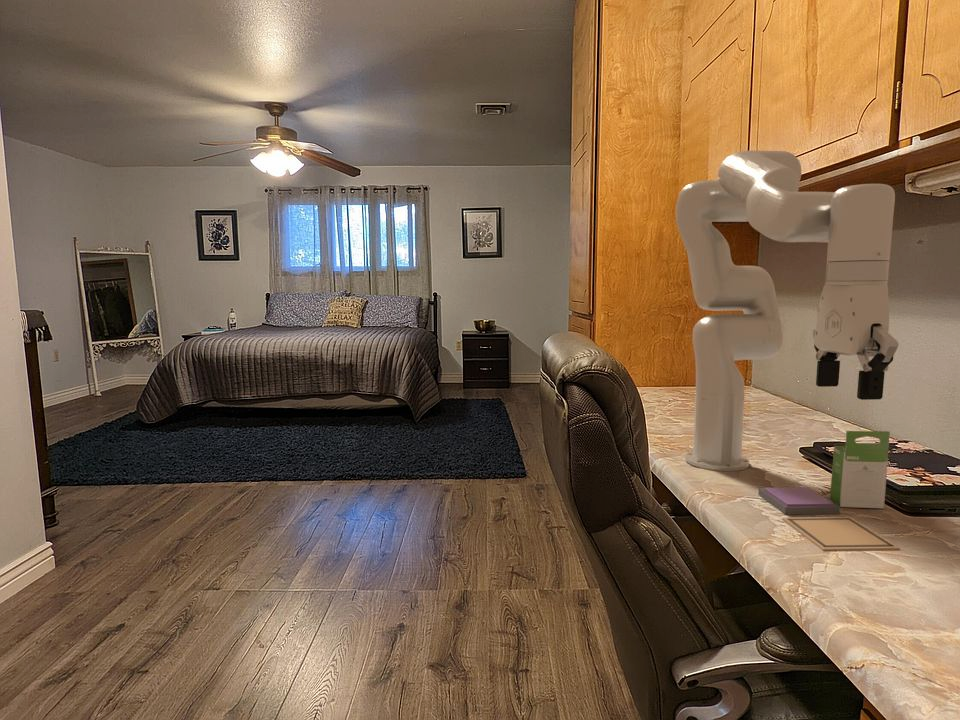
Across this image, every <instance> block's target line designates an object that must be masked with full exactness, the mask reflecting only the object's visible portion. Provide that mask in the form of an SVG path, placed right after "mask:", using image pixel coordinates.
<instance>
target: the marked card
mask: <svg viewBox="0 0 960 720" xmlns="http://www.w3.org/2000/svg"><path fill="white" fill-rule="evenodd" d="M781 520H782V521H783V522H785V523H786V524H787V525H788V526H790V527H791V528H792V529H793V530H795V531H797V533H799V534H801V535H802V536H803V537H804V538H806V540H808V541H810V543H812V544H813V545H815V546H816V547H817V548H818V549H820V550H821V551H822V552H823V551H824V552H827V551H828V552H830V551H833V552H836V551H837V552H838V551H839V552H840V551H841V552H842V551H896V550H898V551H901V547H899V546H898V545H897V544H894V543H893V542H891V541H890V540H888V539H886V538H885V537H884V536H882V535H880V534H879V533H877V532H875V531H874V530H873V529H871V528H869V527H868V526H866V525H865V524H863V523H861V522H859V521H858V520H856V519H855V518H853V517H851V516H821V517H820V516H819V517H818V516H817V517H815V516H814V517H813V516H812V517H808V516H807V517H782V519H781Z"/></svg>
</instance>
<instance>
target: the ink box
mask: <svg viewBox="0 0 960 720" xmlns="http://www.w3.org/2000/svg"><path fill="white" fill-rule="evenodd" d="M890 434H891V433H890V431H884V430H883V431H878V430H876V431H875V430H872V431H871V430H869V431H868V430H866V431H865V430H846V431H845V445H834V446H833V459H832V466H831V467H832V469H831V479H830V480H831V481H830V494H829V498H830V501H831V502H833V503H835V504H836V505H838V506H839V507H840V508H859V509H861V508H862V509H885V503H886V502H885V499H886V498H885V497H886V488H887V487H886V486H887V472H888V460H889V447H890ZM864 437H869V438H874V439H878V440H879V441H878V442H856V440H857V439H859V438H864Z"/></svg>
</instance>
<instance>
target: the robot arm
mask: <svg viewBox="0 0 960 720" xmlns="http://www.w3.org/2000/svg"><path fill="white" fill-rule="evenodd" d="M801 177H802V164H801V162H800V160H799V159H798V158H797V156H796V155H795V154H794V153H791V152H789V151H784V150H742V151H741V150H740V151H737V152H734V153H732V154H731V155H729V156H727V157H726V158H725V159H723V160H722V163H721V164H720V165H719V168H718V173H717V179H715V180H713V179H711V180H707V179H706V180H699V181H694V182H691V183H688V184H686V185H685V186H684V187H683V188H681V190H680V192H679V193H678V196H677V198H676V199H677V200H676V203H675V222H676V226H677V229H678V230H677V231H678V233H679V235H680V238H681V241H682V243H683V245H684V247H685V251H686V256H687V259H688V267H689V274H690V279H691V287H692V293H693V297H694V301H695V303H696V305H697V307H699V309H701V310H703V311H711V312H712V311H713V312H714V311H715V312H720V311H721V312H722V311H723V312H724V311H725V312H729V311H730V312H732V311H742V312H743V314H742V313H741V314H739V313H730V314H729V313H728V314H727V313H726V314H711V315H707V316H704V317H702V318H700V319H699V320H698V321H697V322H696V323H695V325H694V326H693V329H692V346H693V350H694V352H693V353H694V361H695V392H694V393H695V395H694V396H695V397H694V399H695V400H694V423H693V427H694V428H693V445H692V446H693V447H692V448H693V449H692V450H690V451H688V452H686V453H685V456H684V457H685V459H684V460H685V462H686V463H688V464H689V465H691V466H693V467H696V468H700V469H704V470H708V471H718V472H736V471H737V472H738V471H742V470H746V469H748V468H749V467H750V460H749V458H747V456H745V455H743V454H742V449H743V430H744V429H743V428H744V427H743V426H744V411H745V407H744V406H745V386H746V384H745V380H744V379H745V378H744V376H743V375H742V373H741V371H740V370H739V368H738V366H737V365H736V363H735V361H747V360H748V361H749V360H754V361H755V360H767V359H771V358H773V357H775V356H776V355H778V353H779V352H780V350H781V348H782V346H783V339H784V338H783V337H784V336H783V333H784V332H783V327H782V322H781V315H780V310H779V305H778V299H777V294H776V289H775V288H776V287H775V284H774V281H773V278H772V277H771V275H770V274H769V272H768V271H767V270H766V269H765V268H764V267H760V266H757V265H737V264H734V262H733V260H732V256H731V255H732V254H731V248H730V245H729V242H728V240H727V239H726V238H725V237H724V235H723V234H722V233H721V231H720V230H719V229H717V228H716V227H715V226H714V225H713V222H717V223H723V222H724V223H729V222H733V223H735V222H736V223H741V222H742V223H743V222H744V223H747V222H748V224H749V225H750V226H751V227H752V228H753V229H754V230H756V231H757V232H758V233H760V234H761V235H762V236H764V237H766V238H768V239H771V240H772V241H775V242H780V243H827V253H826V255H827V257H826V268H825V269H826V270H825V283H824V284H823V288H822V290H821V295H820V299H819V302H818V303H819V304H818V309H817V314H816V315H817V316H816V320H815V321H816V322H815V329H814V330H813V331H812V336H813V340H814V343H813V344H814V345H813V347H814V350H815V351H816V354H815V359H816V362H817V363H816V364H817V365H816V375H815V376H816V378H815V385H816V386H817V387H818V388H819V387H826V388H827V387H838V386H839V382H840V381H839V380H840V371H841V370H840V368H841V360H838V358H839V357H840V355H843V356H848V357H849V356H857V359H858V361H859V363H860V365H861V368H862V370H858V379H857V390H856V391H857V392H856V398H857V399H859V400H862V401H863V400H864V401H866V400H869V401H871V400H875V401H876V400H882V398H883V395H884V383H885V372H887V371H889V366H890V364H891V363H892V362H893V361H894V356H895V353H896V351H897V350H898V347H899V346H900V345H899V341H898V340H897V339H896V338H894V336H892V334H890V333H889V328H890V302H889V287H888V283H889V271H890V270H889V269H890V258H891V247H892V238H893V237H892V236H893V224H894V213H895V202H896V194H895V189H894V188H893V187H892V186H891V185H889V184H884V183H862V184H860V183H859V184H854V185H853V184H852V185H849V186H848V185H847V186H843V187H840V188H838V189H837V190H836V191H834V192H833V191H799V189H800V181H801ZM871 357H872V358H871ZM870 358H871V359H870Z"/></svg>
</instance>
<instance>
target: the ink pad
mask: <svg viewBox="0 0 960 720" xmlns="http://www.w3.org/2000/svg"><path fill="white" fill-rule="evenodd" d="M757 494H758V496H760V497H761V498H762V499H764V500H765V501H766V502H768V503H769V504H771V506H773V507H774V508H776V509H777V510H778V511H779V512H781V513H782V514H784V515H840V511H841V507H839V506H838V505H837V504H835V503H834V502H832V501H831V499H830V500H829V499H828V498H827V497H825V496H823V495H821V494H820V493H818V492H816V491H815V490H813V489H812V488H810V487H807V486H805V487H804V486H803V487H802V486H801V487H800V486H799V487H796V486H795V487H791V486H790V487H762V488H761V487H760V488H758V493H757Z"/></svg>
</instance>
